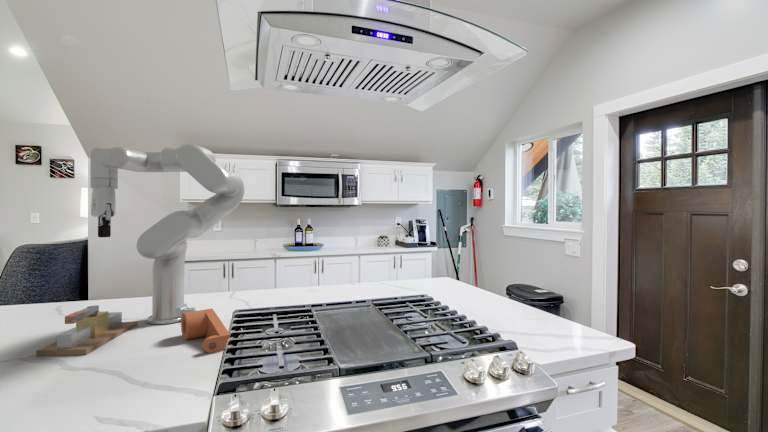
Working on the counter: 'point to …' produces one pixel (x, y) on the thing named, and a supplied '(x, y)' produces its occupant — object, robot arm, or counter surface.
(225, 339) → the crank
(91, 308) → the lever
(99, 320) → the valve body
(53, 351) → the walnut board
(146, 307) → the counter surface
